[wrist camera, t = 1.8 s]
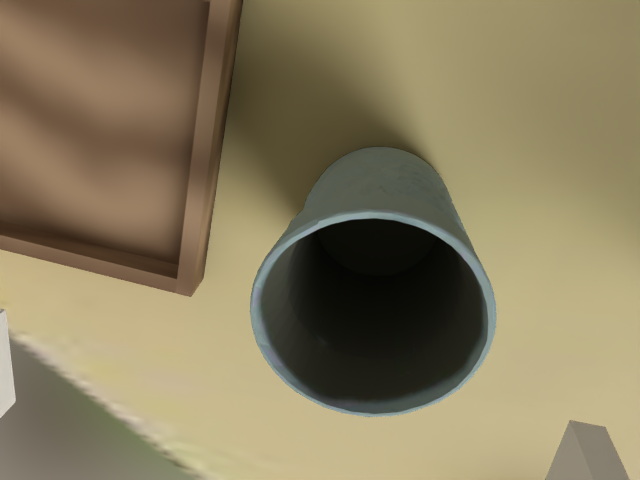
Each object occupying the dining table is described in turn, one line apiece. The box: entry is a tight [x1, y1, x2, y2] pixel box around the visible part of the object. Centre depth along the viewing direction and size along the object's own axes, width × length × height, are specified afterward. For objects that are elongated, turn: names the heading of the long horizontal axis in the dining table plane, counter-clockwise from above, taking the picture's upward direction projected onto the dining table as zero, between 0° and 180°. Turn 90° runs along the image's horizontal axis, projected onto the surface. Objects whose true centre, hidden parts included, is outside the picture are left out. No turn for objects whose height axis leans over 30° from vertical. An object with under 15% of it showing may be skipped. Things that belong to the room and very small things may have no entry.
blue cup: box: [250, 147, 496, 417], centre depth 29 cm, size 10×10×12 cm
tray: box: [0, 0, 243, 297], centre depth 33 cm, size 18×18×2 cm
